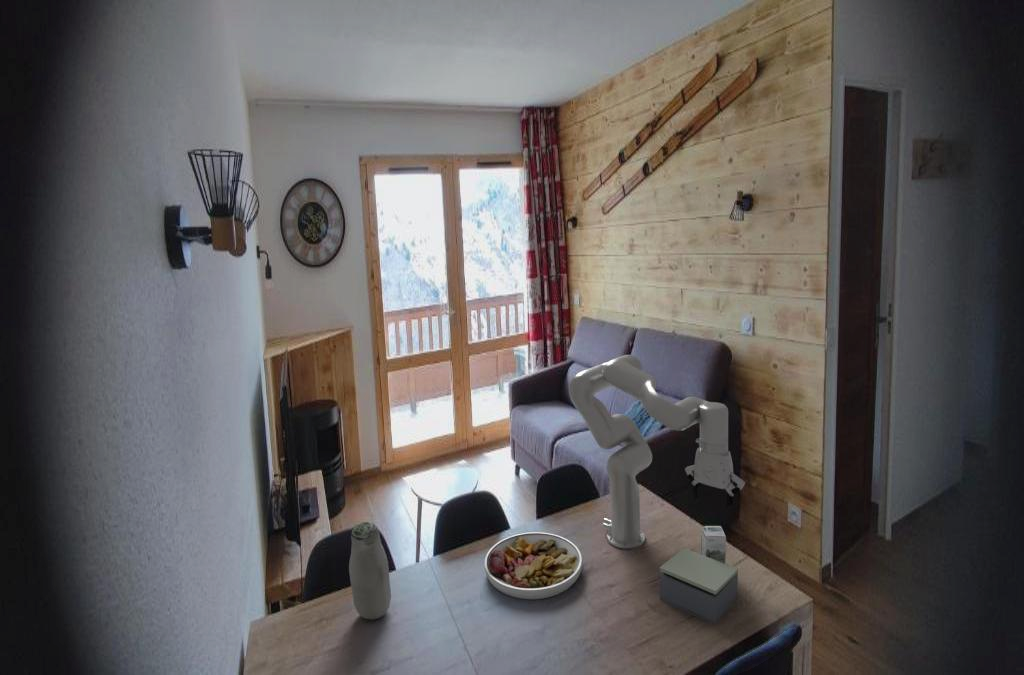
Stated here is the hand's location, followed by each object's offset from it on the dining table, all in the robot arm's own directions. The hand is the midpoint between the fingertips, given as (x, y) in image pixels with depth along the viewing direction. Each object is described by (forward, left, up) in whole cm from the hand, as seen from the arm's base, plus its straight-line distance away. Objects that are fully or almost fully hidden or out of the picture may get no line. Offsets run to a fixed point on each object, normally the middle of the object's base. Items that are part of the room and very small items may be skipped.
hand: (713, 501), depth 160 cm
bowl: (-42, -33, -24) cm, 59 cm away
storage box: (+2, -13, -24) cm, 27 cm away
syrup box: (0, 0, -24) cm, 24 cm away
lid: (+2, -13, -15) cm, 20 cm away
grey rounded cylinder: (-64, -76, -24) cm, 102 cm away
